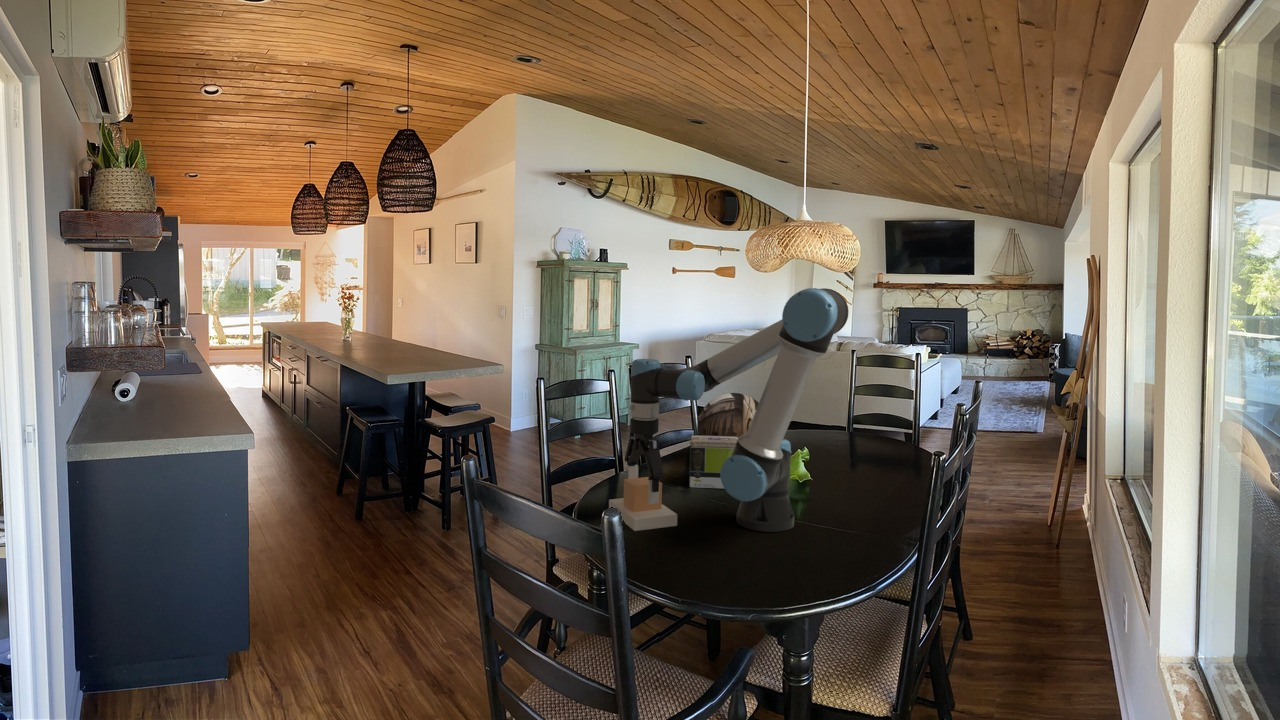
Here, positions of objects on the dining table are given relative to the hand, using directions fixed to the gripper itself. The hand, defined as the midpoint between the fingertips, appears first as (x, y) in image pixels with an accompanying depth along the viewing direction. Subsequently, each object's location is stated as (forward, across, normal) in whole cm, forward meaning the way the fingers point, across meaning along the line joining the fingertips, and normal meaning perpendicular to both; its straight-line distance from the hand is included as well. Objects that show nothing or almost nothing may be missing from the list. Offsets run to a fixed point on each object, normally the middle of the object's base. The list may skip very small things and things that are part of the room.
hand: (642, 496), depth 204 cm
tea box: (+6, -22, +34) cm, 41 cm away
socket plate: (+6, 0, 0) cm, 6 cm away
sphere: (+6, -41, +52) cm, 66 cm away
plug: (+6, 0, 0) cm, 6 cm away
